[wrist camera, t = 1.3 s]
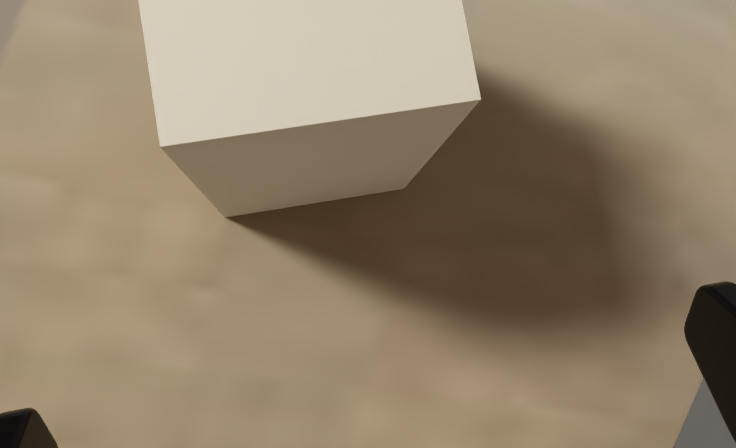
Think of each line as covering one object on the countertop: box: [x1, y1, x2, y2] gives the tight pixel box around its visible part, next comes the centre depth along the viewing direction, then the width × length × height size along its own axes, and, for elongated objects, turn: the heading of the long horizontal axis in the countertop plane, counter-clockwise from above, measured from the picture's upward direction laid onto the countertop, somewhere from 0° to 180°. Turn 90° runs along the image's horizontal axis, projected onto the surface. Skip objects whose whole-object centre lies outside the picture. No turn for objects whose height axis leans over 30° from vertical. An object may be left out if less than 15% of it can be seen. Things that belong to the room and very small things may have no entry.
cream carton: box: [139, 0, 481, 218], centre depth 18 cm, size 6×6×10 cm
